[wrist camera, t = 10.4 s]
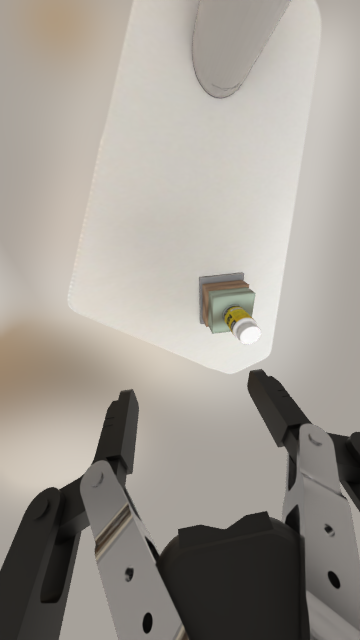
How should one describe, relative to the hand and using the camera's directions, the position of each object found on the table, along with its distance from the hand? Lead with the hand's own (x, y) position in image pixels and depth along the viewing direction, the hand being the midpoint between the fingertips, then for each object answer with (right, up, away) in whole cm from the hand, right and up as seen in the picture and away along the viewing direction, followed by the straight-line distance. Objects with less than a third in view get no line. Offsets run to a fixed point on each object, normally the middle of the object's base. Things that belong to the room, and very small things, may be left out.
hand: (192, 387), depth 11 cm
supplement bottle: (+11, +6, +26) cm, 29 cm away
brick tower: (+10, +10, +33) cm, 36 cm away
